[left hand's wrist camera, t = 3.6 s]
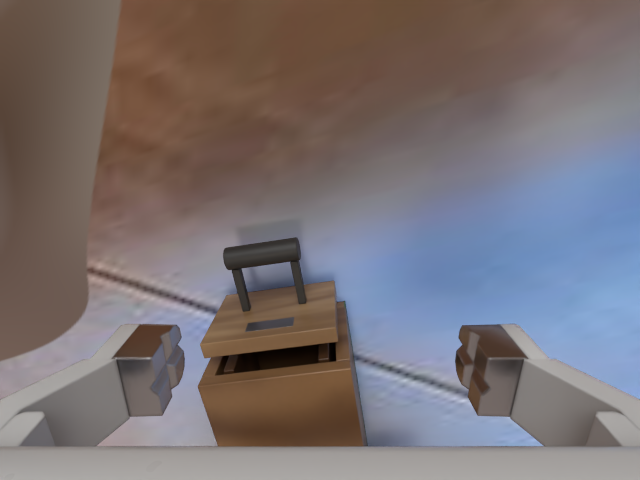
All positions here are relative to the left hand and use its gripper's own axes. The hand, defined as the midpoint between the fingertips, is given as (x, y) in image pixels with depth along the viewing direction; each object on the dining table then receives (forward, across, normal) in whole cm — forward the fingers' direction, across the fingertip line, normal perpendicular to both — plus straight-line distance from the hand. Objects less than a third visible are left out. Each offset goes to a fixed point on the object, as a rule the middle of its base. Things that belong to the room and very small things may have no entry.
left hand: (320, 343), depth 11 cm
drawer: (+19, +2, +15) cm, 25 cm away
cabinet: (+20, +1, +21) cm, 29 cm away
